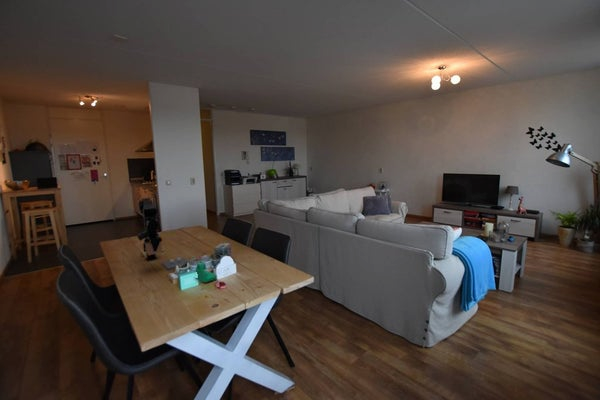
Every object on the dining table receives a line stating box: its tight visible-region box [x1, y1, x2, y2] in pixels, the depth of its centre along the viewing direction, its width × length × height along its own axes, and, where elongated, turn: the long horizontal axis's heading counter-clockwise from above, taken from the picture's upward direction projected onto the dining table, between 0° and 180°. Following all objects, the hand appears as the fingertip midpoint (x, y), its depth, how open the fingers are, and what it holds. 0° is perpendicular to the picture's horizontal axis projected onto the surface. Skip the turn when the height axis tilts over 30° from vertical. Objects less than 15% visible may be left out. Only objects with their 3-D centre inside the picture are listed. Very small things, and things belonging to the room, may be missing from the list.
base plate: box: [160, 257, 189, 271], centre depth 186 cm, size 14×14×4 cm
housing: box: [145, 241, 163, 255], centre depth 178 cm, size 5×8×7 cm, turn 130°
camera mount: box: [194, 262, 218, 283], centre depth 162 cm, size 12×8×10 cm, turn 47°
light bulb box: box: [214, 242, 232, 257], centre depth 190 cm, size 11×7×11 cm, turn 168°
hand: (154, 250), depth 178 cm, fingers closed on housing, 5 cm apart
